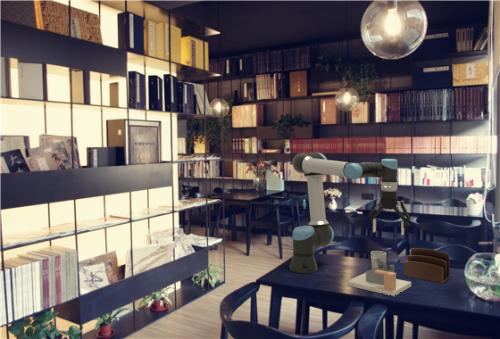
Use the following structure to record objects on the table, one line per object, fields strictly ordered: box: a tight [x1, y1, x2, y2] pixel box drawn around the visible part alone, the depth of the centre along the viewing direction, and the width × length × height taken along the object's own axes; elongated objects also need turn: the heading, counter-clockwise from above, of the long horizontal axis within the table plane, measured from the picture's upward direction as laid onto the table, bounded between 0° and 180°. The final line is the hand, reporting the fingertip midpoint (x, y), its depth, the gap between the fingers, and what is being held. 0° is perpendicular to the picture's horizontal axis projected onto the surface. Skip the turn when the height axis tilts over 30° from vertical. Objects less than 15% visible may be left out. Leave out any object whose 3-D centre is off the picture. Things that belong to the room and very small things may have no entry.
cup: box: [370, 250, 388, 270], centre depth 226 cm, size 8×8×12 cm
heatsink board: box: [346, 264, 412, 297], centre depth 209 cm, size 24×19×9 cm
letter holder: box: [403, 247, 450, 284], centre depth 222 cm, size 10×20×14 cm, turn 48°
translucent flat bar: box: [370, 255, 389, 270], centre depth 210 cm, size 4×16×1 cm, turn 137°
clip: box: [374, 269, 397, 291], centre depth 199 cm, size 9×4×8 cm, turn 47°
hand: (388, 233), depth 212 cm, fingers open, 13 cm apart
